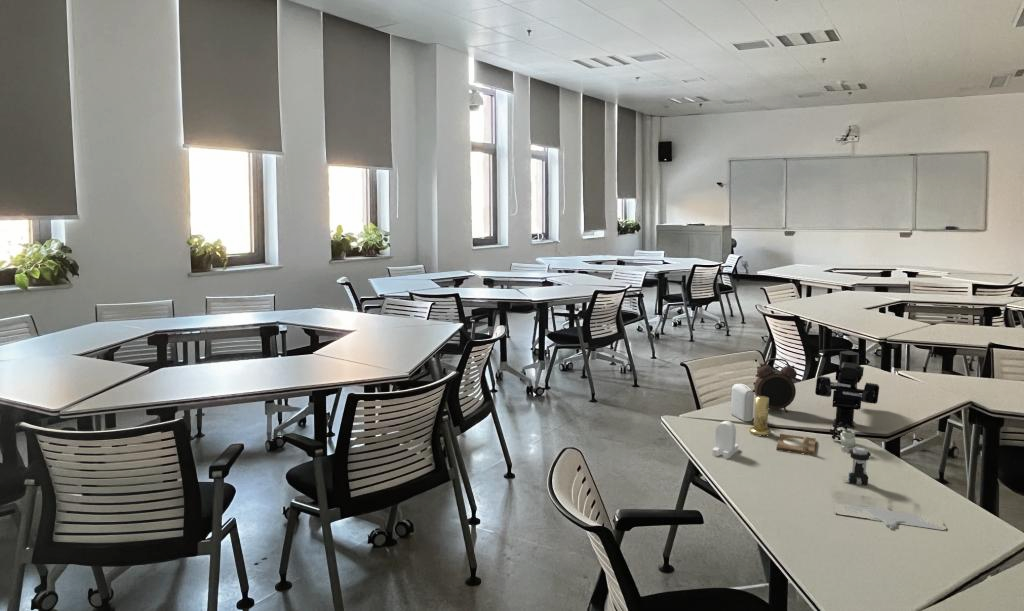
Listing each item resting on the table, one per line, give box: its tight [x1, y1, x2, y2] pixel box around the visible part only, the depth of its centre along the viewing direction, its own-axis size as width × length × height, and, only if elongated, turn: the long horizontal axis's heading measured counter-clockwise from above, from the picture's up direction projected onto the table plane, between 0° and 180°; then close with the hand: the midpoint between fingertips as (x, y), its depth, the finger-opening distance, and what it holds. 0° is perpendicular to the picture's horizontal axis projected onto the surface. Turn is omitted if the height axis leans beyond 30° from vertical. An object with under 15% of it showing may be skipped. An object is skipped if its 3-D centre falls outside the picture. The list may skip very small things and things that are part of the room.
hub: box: [748, 395, 772, 437], centre depth 242 cm, size 9×7×12 cm
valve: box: [829, 422, 856, 454], centre depth 228 cm, size 7×7×12 cm
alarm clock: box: [753, 357, 798, 413], centre depth 265 cm, size 15×7×20 cm, turn 80°
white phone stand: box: [711, 420, 739, 460], centre depth 223 cm, size 5×10×10 cm, turn 145°
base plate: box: [775, 433, 816, 456], centre depth 229 cm, size 14×11×5 cm
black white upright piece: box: [842, 446, 872, 486], centre depth 199 cm, size 7×5×10 cm
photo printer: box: [730, 383, 755, 422], centre depth 258 cm, size 10×4×12 cm, turn 12°
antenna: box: [833, 504, 947, 531], centre depth 183 cm, size 25×24×1 cm
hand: (846, 396), depth 227 cm, fingers open, 9 cm apart
